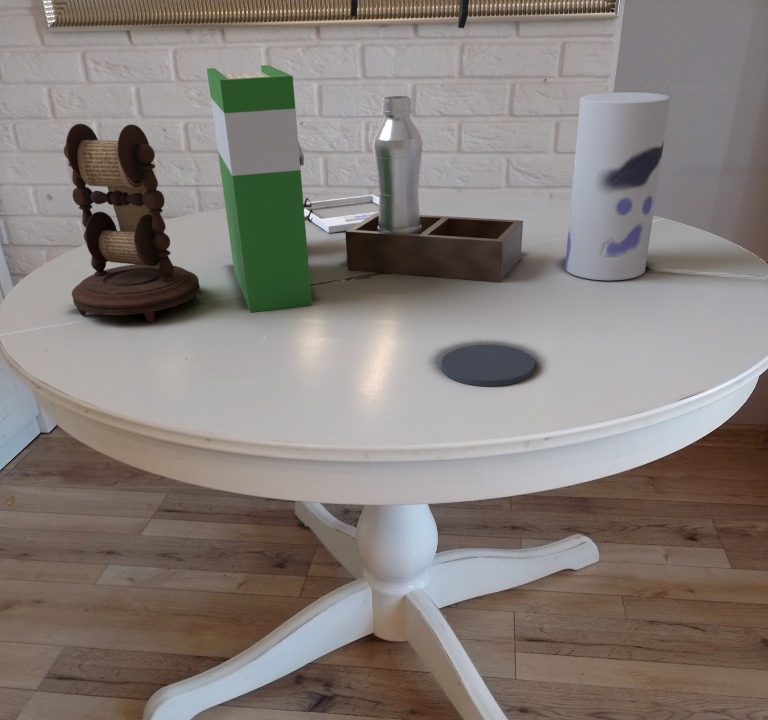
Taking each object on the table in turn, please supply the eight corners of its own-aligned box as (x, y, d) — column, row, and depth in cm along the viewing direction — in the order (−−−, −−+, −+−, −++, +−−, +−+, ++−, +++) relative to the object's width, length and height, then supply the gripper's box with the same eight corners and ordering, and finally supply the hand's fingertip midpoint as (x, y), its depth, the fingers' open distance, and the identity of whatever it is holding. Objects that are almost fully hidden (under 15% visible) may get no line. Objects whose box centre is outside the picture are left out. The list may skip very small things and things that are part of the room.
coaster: (543, 355, 79) (543, 349, 79) (522, 391, 72) (523, 385, 72) (456, 345, 82) (456, 340, 82) (428, 379, 75) (428, 373, 75)
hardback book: (234, 271, 107) (206, 68, 94) (288, 265, 109) (268, 65, 96) (249, 312, 93) (220, 80, 80) (311, 305, 94) (292, 76, 81)
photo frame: (328, 225, 122) (294, 203, 136) (328, 232, 123) (294, 209, 137) (414, 213, 126) (373, 193, 140) (415, 221, 127) (373, 199, 141)
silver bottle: (373, 268, 106) (366, 101, 95) (380, 254, 112) (374, 95, 101) (421, 268, 105) (420, 100, 95) (425, 254, 111) (425, 93, 100)
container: (608, 287, 96) (631, 103, 86) (548, 269, 103) (562, 96, 92) (661, 270, 101) (689, 94, 90) (600, 254, 108) (619, 89, 97)
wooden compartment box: (521, 258, 108) (523, 220, 105) (500, 282, 99) (502, 241, 97) (377, 248, 115) (376, 212, 112) (347, 269, 106) (345, 231, 103)
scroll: (223, 292, 100) (198, 115, 89) (157, 332, 88) (119, 136, 77) (125, 283, 104) (89, 114, 93) (50, 321, 93) (-1, 133, 82)
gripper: (508, -117, 103) (500, 44, 103) (316, -141, 101) (307, 23, 101) (523, -167, 96) (515, 6, 96) (317, -194, 94) (307, -17, 93)
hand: (408, 15), depth 98 cm, fingers open, 13 cm apart
